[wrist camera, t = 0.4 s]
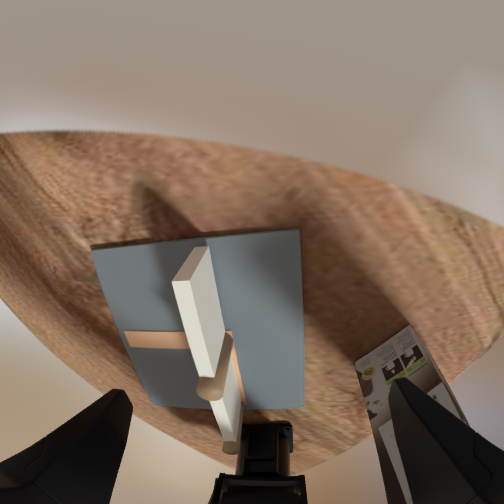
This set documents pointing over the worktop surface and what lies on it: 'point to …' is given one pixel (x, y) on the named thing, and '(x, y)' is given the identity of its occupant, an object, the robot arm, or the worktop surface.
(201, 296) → the fence gate panel
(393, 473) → the coffee box
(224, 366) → the fence post and panel
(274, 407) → the card
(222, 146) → the worktop surface
